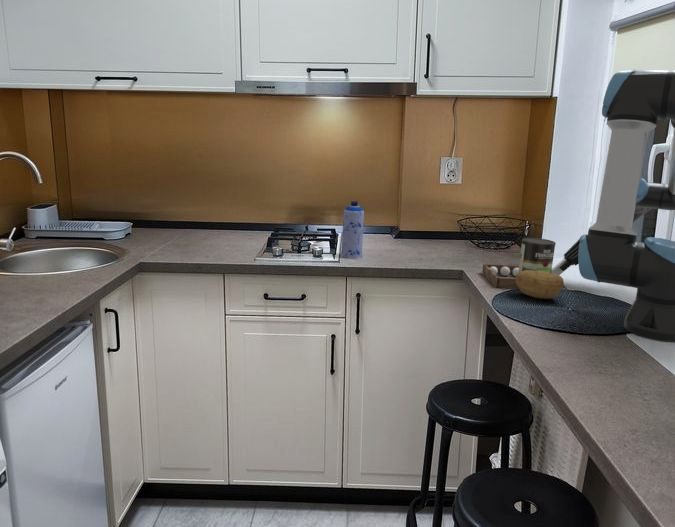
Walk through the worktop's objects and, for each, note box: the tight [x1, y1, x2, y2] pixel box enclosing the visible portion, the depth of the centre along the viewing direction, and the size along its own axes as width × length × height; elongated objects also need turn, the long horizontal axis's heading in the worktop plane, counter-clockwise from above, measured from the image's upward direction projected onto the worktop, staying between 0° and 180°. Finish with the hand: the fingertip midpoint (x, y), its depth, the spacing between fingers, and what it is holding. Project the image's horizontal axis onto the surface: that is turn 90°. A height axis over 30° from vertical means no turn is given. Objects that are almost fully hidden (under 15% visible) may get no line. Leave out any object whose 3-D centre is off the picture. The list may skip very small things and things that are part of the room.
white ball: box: [512, 268, 519, 277], centre depth 210 cm, size 3×3×3 cm
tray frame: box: [482, 263, 520, 290], centre depth 204 cm, size 19×14×3 cm
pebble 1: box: [490, 266, 498, 275], centre depth 210 cm, size 3×3×3 cm
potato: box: [514, 270, 565, 300], centre depth 185 cm, size 10×14×8 cm
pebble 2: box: [500, 266, 511, 277], centre depth 210 cm, size 3×3×3 cm
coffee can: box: [518, 237, 556, 273], centre depth 200 cm, size 10×10×14 cm
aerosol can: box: [340, 200, 365, 260], centre depth 225 cm, size 8×8×20 cm
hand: (551, 275), depth 202 cm, fingers closed
